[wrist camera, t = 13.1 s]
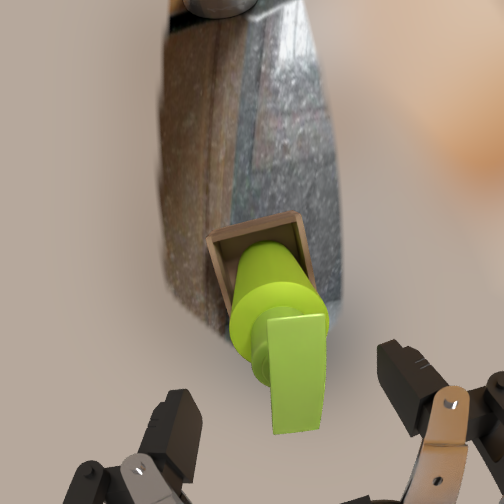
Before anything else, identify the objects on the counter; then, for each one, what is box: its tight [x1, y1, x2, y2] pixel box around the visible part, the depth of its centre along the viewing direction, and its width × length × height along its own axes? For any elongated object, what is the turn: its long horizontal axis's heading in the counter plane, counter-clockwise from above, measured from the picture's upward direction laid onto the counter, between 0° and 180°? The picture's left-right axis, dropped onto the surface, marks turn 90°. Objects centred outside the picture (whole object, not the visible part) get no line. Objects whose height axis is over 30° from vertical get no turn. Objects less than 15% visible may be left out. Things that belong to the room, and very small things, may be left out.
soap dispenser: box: [229, 240, 329, 435], centre depth 18 cm, size 6×7×20 cm
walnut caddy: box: [205, 210, 317, 318], centre depth 27 cm, size 9×8×5 cm
